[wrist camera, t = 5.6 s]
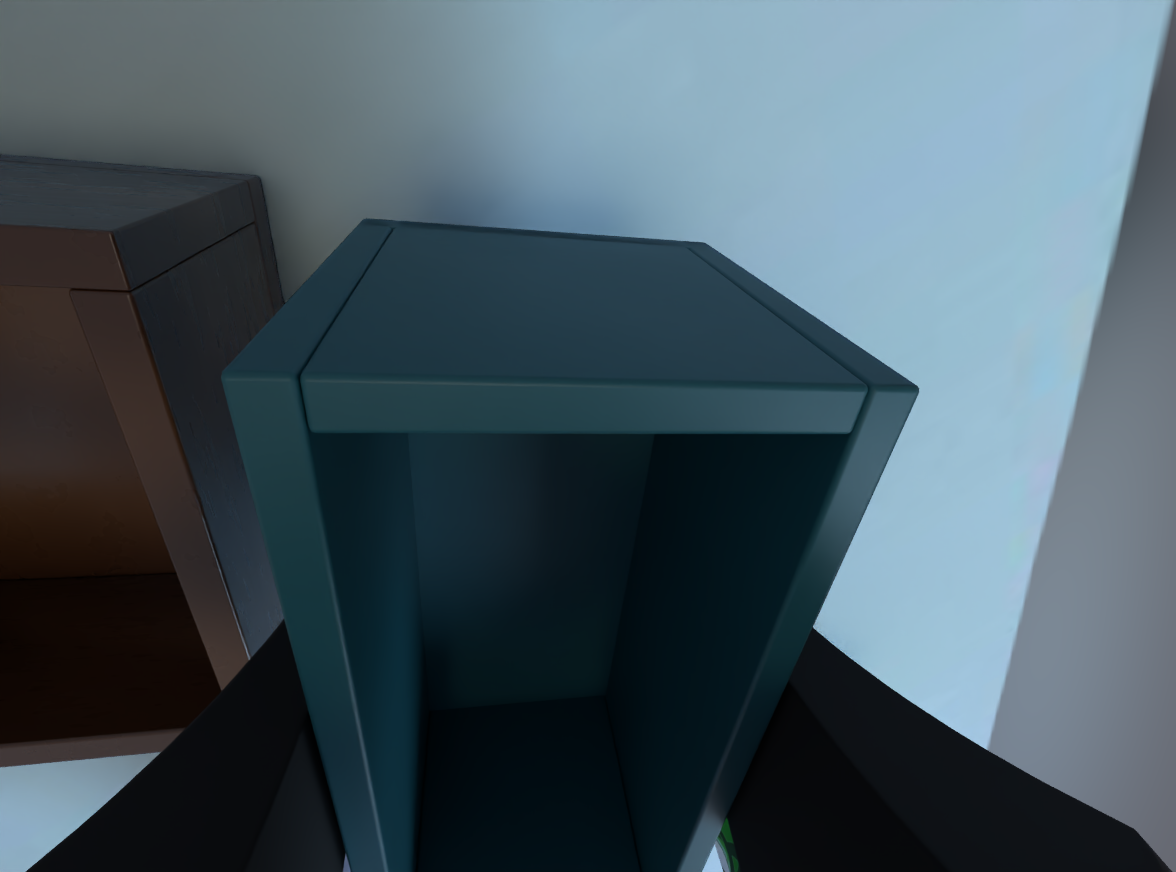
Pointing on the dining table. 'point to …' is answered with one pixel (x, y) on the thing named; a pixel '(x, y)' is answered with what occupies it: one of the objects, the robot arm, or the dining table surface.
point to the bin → (549, 533)
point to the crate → (125, 452)
